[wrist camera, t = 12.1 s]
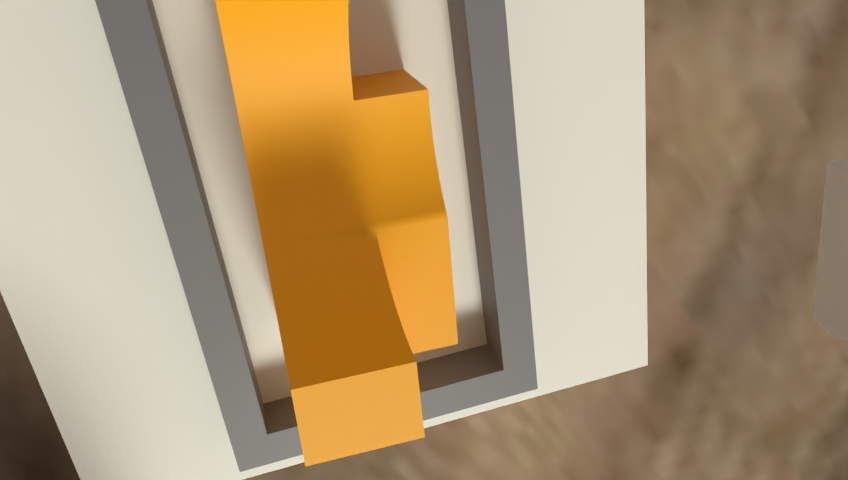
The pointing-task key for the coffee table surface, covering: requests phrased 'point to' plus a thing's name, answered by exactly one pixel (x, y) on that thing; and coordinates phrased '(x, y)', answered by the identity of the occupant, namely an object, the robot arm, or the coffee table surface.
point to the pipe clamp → (342, 221)
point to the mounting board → (240, 232)
